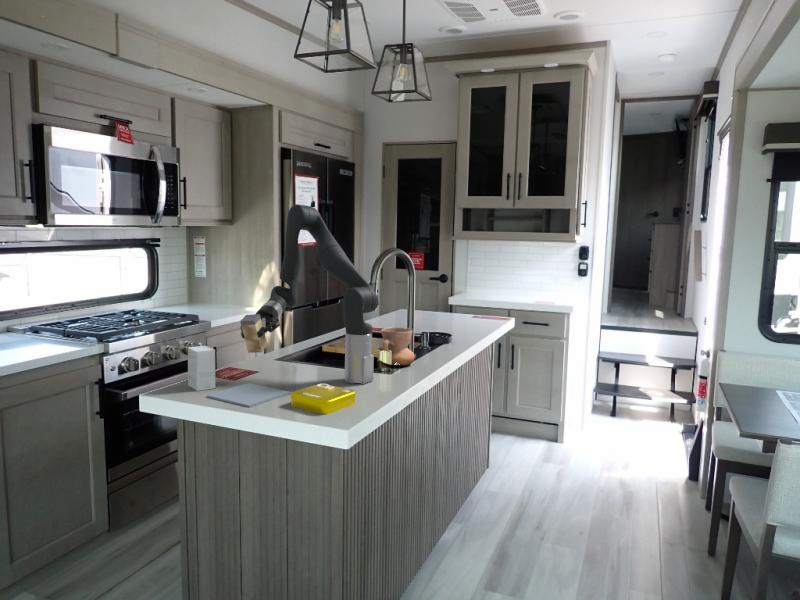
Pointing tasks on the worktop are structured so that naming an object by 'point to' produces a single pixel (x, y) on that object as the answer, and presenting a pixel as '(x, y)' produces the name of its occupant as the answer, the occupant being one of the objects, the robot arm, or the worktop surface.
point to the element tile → (323, 398)
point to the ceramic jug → (398, 344)
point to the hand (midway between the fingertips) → (250, 335)
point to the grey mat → (248, 394)
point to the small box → (201, 368)
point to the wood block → (253, 333)
